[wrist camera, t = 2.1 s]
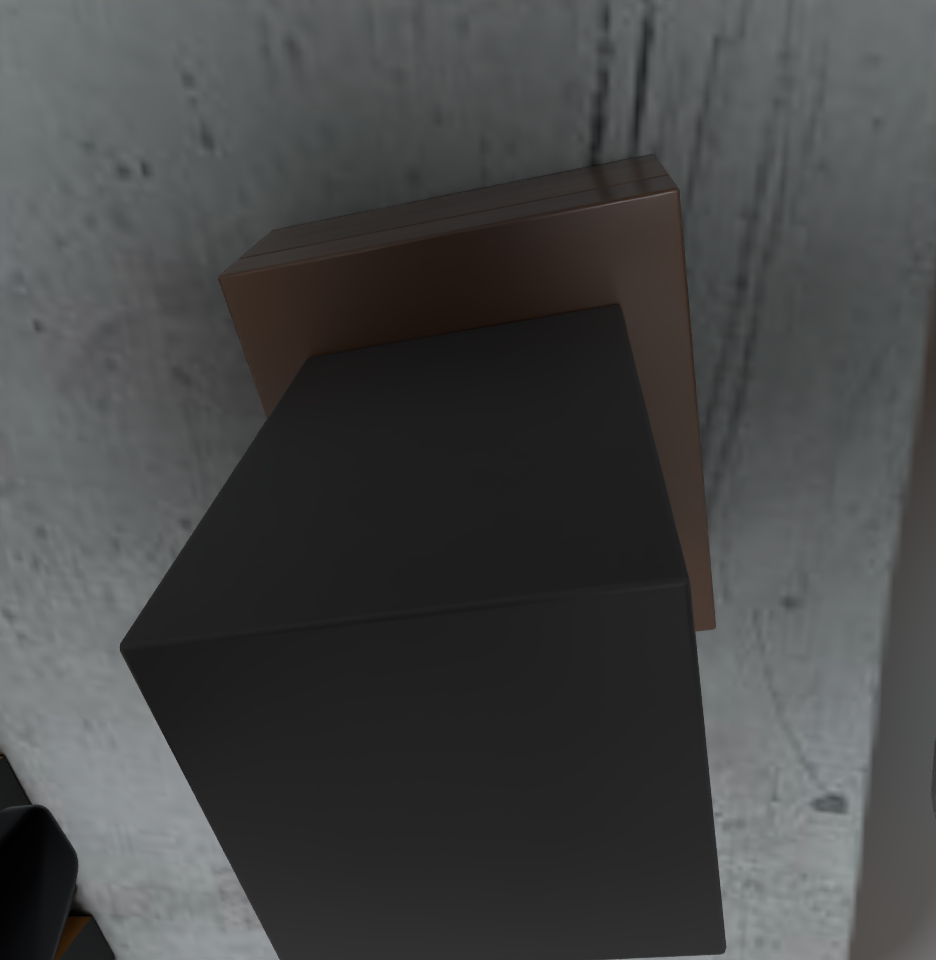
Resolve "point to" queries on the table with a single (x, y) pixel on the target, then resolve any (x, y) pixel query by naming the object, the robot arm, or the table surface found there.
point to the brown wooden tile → (496, 295)
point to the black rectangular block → (448, 660)
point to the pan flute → (80, 941)
